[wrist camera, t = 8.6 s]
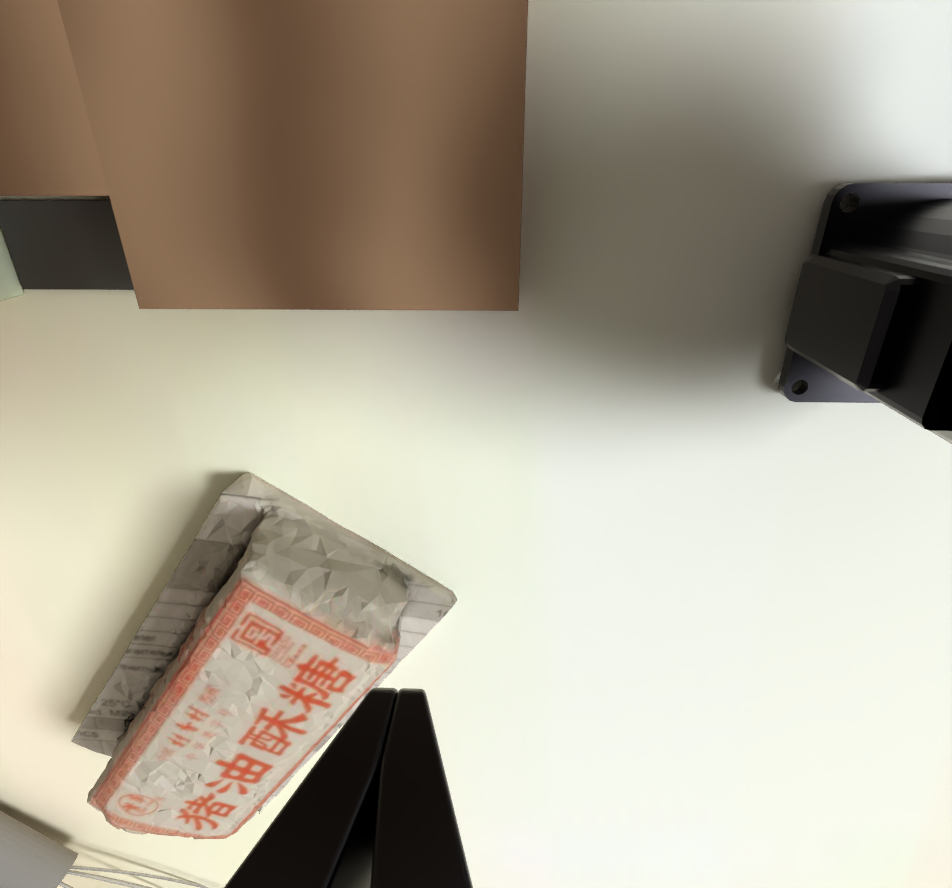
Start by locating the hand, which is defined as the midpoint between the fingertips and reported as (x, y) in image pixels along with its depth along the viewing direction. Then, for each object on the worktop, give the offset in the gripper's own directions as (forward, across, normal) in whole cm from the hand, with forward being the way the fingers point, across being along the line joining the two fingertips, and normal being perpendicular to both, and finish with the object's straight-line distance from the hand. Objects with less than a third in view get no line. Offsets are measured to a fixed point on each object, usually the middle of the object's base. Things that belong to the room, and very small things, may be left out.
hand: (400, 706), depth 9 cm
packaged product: (+13, +9, +12) cm, 20 cm away
